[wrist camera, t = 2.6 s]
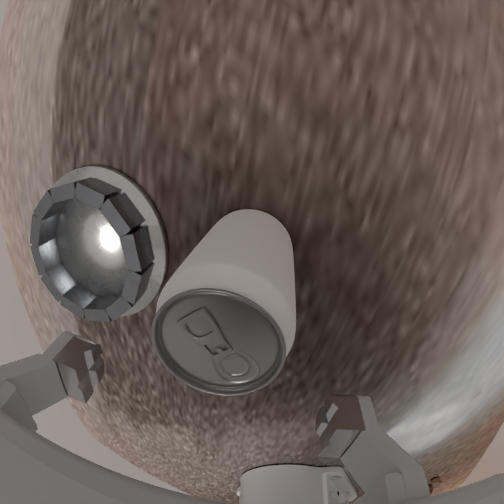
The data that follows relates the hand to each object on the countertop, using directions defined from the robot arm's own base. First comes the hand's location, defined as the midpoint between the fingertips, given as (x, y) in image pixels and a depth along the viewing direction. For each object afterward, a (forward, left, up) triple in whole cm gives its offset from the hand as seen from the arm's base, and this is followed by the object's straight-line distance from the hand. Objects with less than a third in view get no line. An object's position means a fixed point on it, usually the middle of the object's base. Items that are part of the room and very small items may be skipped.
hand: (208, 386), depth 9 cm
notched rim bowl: (+8, +11, -14) cm, 20 cm away
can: (0, 0, -15) cm, 15 cm away
